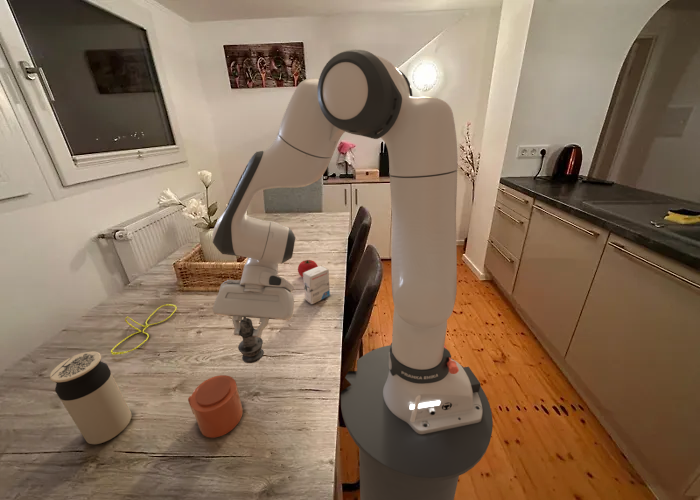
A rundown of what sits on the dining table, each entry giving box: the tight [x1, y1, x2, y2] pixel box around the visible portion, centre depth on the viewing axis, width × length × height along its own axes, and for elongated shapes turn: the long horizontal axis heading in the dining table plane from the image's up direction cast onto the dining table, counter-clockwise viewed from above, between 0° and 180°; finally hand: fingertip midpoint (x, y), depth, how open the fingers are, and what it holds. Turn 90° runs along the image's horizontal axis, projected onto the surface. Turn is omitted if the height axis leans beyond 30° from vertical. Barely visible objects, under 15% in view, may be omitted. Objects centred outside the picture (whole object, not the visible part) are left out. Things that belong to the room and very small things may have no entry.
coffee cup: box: [187, 374, 244, 439], centre depth 61 cm, size 10×9×9 cm
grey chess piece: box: [237, 317, 265, 364], centre depth 69 cm, size 6×6×12 cm
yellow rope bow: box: [110, 303, 178, 356], centre depth 91 cm, size 25×10×5 cm, turn 178°
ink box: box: [302, 265, 331, 305], centre depth 104 cm, size 9×5×12 cm, turn 132°
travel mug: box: [49, 351, 132, 445], centre depth 58 cm, size 8×8×18 cm
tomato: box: [297, 259, 319, 278], centre depth 121 cm, size 9×9×8 cm
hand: (247, 336), depth 68 cm, fingers closed on grey chess piece, 3 cm apart
